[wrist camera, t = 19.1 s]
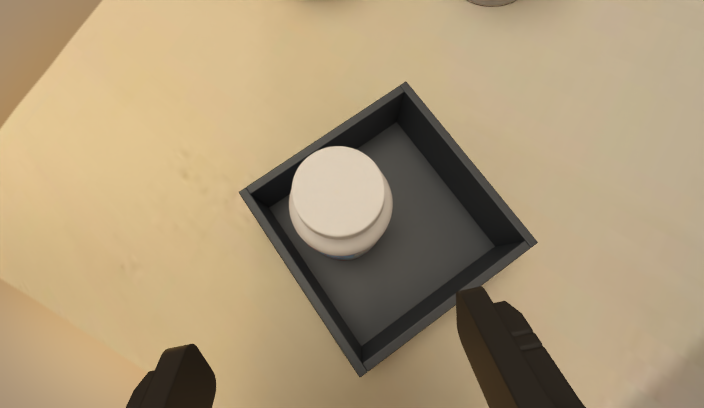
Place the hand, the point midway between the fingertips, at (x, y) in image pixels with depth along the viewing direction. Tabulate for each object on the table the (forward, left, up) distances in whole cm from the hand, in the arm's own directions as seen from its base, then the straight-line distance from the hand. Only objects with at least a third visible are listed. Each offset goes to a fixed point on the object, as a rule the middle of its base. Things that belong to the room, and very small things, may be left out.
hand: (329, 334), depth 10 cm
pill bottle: (+3, +5, -16) cm, 17 cm away
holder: (+5, +3, -17) cm, 18 cm away
